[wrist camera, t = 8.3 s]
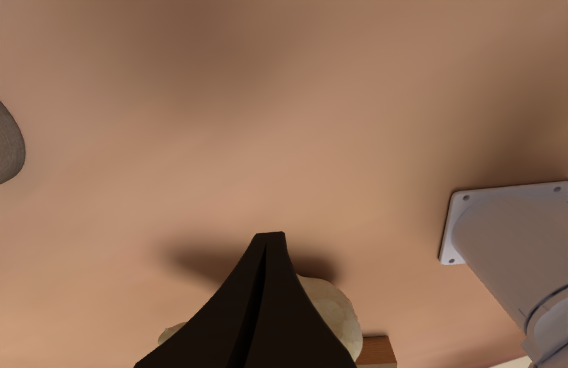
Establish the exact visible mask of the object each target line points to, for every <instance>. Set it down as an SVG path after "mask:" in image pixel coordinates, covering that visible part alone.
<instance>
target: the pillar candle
mask: <svg viewBox="0 0 568 368" xmlns="http://www.w3.org/2000/svg"><path fill="white" fill-rule="evenodd" d="M24 159H25V146H24V141H23V138H22V135H21V133H20V129H19V127H18V126H17V124H16V122H15V121H14V119H13V117H12V116H11V115H10V113H9V112H8V110H7V109H6V107H4V105H3V104H2V103H1V102H0V184H2V183H4V182H6V181H8V180H10V179H11V178H13V177H14V176H16V175H17V174H18V173H19V171H20V170H21V169H22V166H23V165H24Z"/></svg>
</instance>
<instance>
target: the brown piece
mask: <svg viewBox="0 0 568 368" xmlns="http://www.w3.org/2000/svg"><path fill="white" fill-rule="evenodd" d="M355 364H356V366H357V368H397V361H396V358H395V355H394V352H393V349H392V347H391V344H390V341H389V338H388V336H383V337H365V338H363V345H362V349H361V352H360V354H359V356H358V358H357V359H356V361H355Z"/></svg>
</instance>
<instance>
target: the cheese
mask: <svg viewBox="0 0 568 368" xmlns="http://www.w3.org/2000/svg"><path fill="white" fill-rule="evenodd" d="M296 275H297V277H298V279H299V281H300V283H301V285H302V287H303V288H304V290H305V292H306V294H307V295H308V297H309V299H310V300H311V302H312V304H313V305H314V307H315V308H316V309H317V311H318V312H319V314H320V315H321V317H322V318H323V320H324V321H325V322H326V324H327V325H328V326H329V328H330V329H331V330H332V332H333V333H334V334H335V335H336V337H337V338H338V339H339V340H340V341H341V343H342V344H343V345H344V346H345V347H346V348H347V350H348V351H349V353H350V355H351V357H352V359H353V360H354V362H355V361H356V359H357V358H358V356H359V354H360V352H361V349H362V345H363V337H362V332H361V328H360V324H359V322H358V318H357V316H356V314H355V312H354V309H353V306H352V303H351V302H350V300H349V299H348V298H347V297H346V296H345V295H344V294H343V292H341V291H340V290H339V289H338V288H336V287H335V286H334V285H332V284H331V283H330V282H328V281H325V280H323V279H317V278H307V277H302V276H300V275H298V274H297V273H296ZM186 323H187V322H183V323H180V324H178V325H175V326H173V327H171V328H166V329H165V331H164V332H163V333H162V334H161V335H160V337H159V339H158V344H159V345H161V344H162V343H164V342H165V341H166V340H167V339H168V338H170V337H171V336H172V335H173V334H174V333H176V332H177V331H178V330H179V329H180V328H181V327H182V326H184V325H185V324H186Z"/></svg>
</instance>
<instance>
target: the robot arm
mask: <svg viewBox="0 0 568 368" xmlns="http://www.w3.org/2000/svg"><path fill="white" fill-rule="evenodd" d="M466 195H467V196H466ZM464 196H466V197H465V198H463V197H464ZM450 259H451V260H450ZM439 261H440V263H441V264H442V265H451V264H464V263H467V265H468V266H469V267H470V268H471V270H472V271H473V272H474V273H475V274H476V276H477V277H478V278H479V279H480V281H481V282H482V283H483V284H484V285H485V287H486V288H487V289H488V290H489V291H490V293H491V294H492V295H493V296H494V298H495V299H496V300H497V301H498V302H499V304H500V305H501V306H502V307H503V309H504V310H505V311H506V312H507V313H508V315H509V316H510V317H511V318H512V320H513V321H514V322H515V323H516V324H517V326H518V327H519V328H520V329H521V330H522V332H523V333H524V334H525V335H526V338H525V339H524V340H523V341H522V342H521V343H520V346H521V347H522V349H523V350H524V351H525V352H526V354H527V355H528V356H529V358H530V359H531V360H532V363H531V364H530V365H529V367H528V368H568V181H561V182H551V183H540V184H530V185H519V186H509V187H498V188H488V189H477V190H467V191H458V192H455V193H454V194H453V195H452V197H451V202H450V207H449V212H448V217H447V222H446V227H445V232H444V236H443V241H442V246H441V251H440V256H439ZM134 368H357V366H356V364H355V362H354V360H353V359H352V357H351V355H350V353H349V351H348V350H347V348H346V347H345V346H344V345H343V344H342V343H341V341H340V340H339V339H338V338H337V337H336V335H335V334H334V333H333V332H332V330H331V329H330V328H329V326H328V325H327V324H326V322H325V321H324V320H323V318H322V317H321V315H320V314H319V312H318V311H317V309H316V308H315V307H314V305H313V304H312V302H311V300H310V299H309V297H308V295H307V294H306V292H305V290H304V288H303V287H302V285H301V283H300V281H299V279H298V277H297V275H296V272H295V270H294V268H293V265H292V263H291V260H290V258H289V255H288V251H287V244H286V238H285V233H284V232H282V231H280V232H269V233H258V234H256V235H255V236H254V237H253V239H252V241H251V243H250V245H249V246H248V248H247V250H246V251H245V253H244V255H243V256H242V258H241V259H240V261H239V262H238V264H237V265H236V267H235V268H234V270H233V271H232V272H231V274H230V275H229V276H228V278H227V279H226V280H225V282H224V283H223V284H222V286H221V287H220V288H219V289H218V290H217V292H216V293H215V294H214V295H213V296H212V297H211V299H210V300H209V301H208V302H207V303H206V304H205V305H204V306H203V307H202V308H201V309H200V310H199V311H198V312H197V313H196V314H195V315H194V316H193V317H192V318H191V319H190V320H189V321H188V322H187V323H186V324H185V325H184V326H182V327H181V328H180V329H179V330H178V331H177V332H176V333H174V334H173V335H172V336H171V337H170V338H168V339H167V340H166V341H165V342H164V343H162V344H161V345H160V346H158V347H157V348H156V349H154V350H153V351H152V352H151V353H149V354H148V355H147V356H145V357H144V358H143V359H141V360H140V361H138V362H137V363H136V364H135V366H134Z"/></svg>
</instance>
